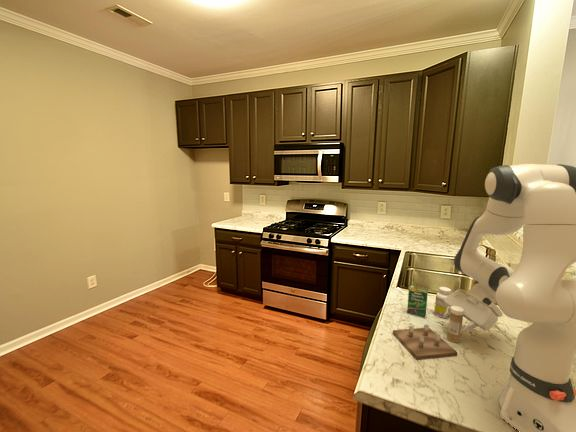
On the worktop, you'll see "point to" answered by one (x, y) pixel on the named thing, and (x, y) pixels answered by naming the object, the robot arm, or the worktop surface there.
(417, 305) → the coffee box
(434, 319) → the worktop surface
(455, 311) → the sprinkles bottle
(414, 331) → the pin board
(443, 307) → the supplement bottle
